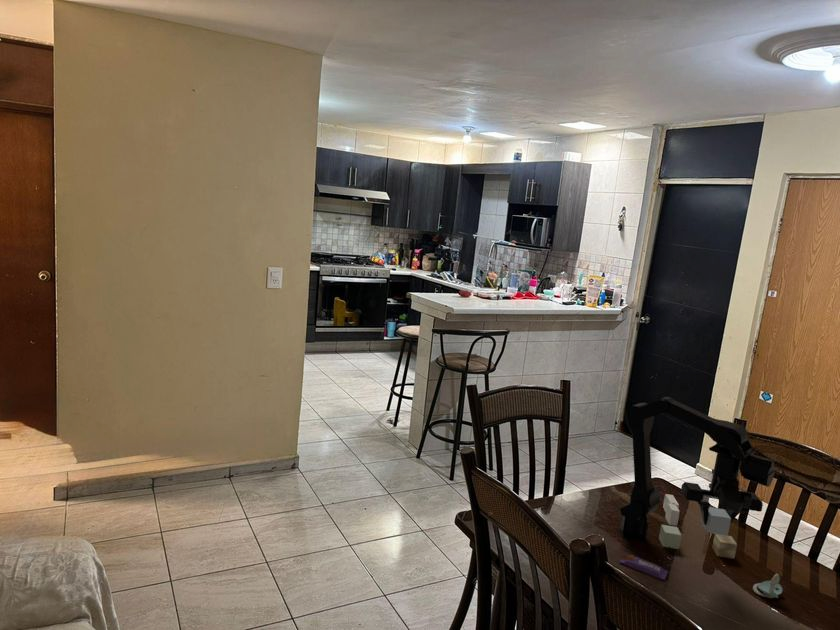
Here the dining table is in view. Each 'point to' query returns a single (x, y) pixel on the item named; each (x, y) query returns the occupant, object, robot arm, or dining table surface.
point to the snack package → (644, 566)
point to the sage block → (670, 536)
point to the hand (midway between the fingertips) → (715, 525)
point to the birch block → (724, 546)
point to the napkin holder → (671, 509)
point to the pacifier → (769, 587)
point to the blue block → (717, 522)
